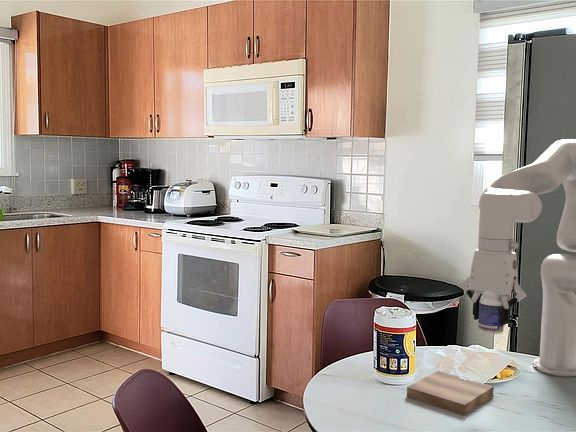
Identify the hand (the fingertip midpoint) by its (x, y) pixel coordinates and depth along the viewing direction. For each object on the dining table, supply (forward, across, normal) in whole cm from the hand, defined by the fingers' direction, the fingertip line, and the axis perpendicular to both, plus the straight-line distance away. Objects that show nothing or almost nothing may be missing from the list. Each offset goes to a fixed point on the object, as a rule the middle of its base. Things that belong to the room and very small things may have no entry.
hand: (490, 320), depth 148 cm
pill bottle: (+3, 0, 0) cm, 3 cm away
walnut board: (+20, +8, +3) cm, 21 cm away
